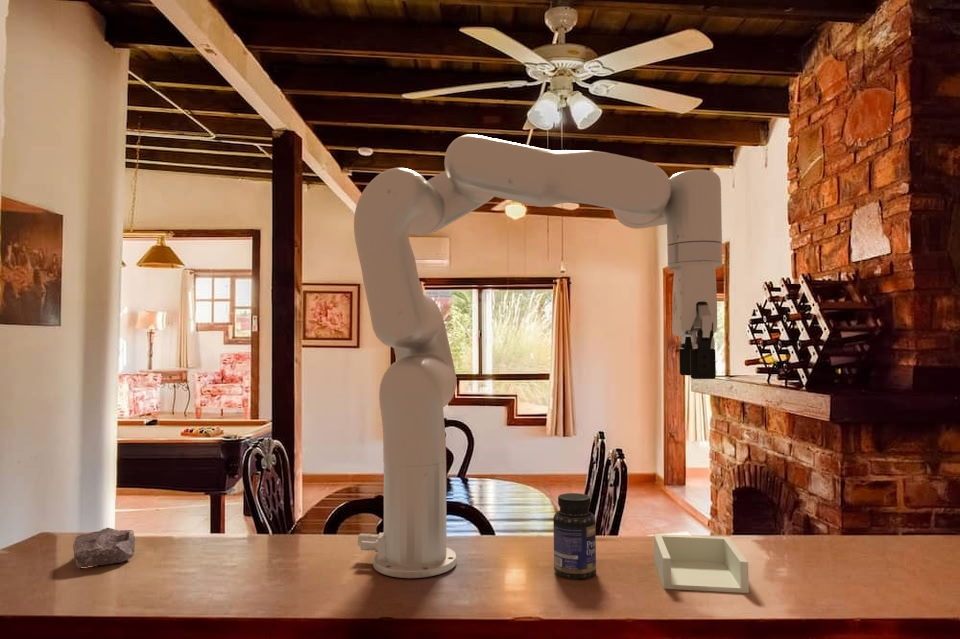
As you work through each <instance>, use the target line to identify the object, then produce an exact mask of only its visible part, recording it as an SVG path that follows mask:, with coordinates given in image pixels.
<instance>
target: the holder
mask: <svg viewBox="0 0 960 639" xmlns="http://www.w3.org/2000/svg"><path fill="white" fill-rule="evenodd" d="M653 545H654V548H653V549H654V550H653V552H654V557H653V558H654V564H655V567H656V569H657V573H658V575H659V579H660V581H661V585H662V588H663V589H664V590H681V591H682V590H683V591H685V590H686V591H700V592H718V593H719V592H721V593H722V592H723V593H737V594H738V593H739V594H749V593H750V591H749V590H750V588H749V587H750V586H749V584H750V582H749V578H750V577H749V561H748V560H747V558H746V557H745V556H744V555H743V553H742V552H741V551H740V549H739V548H738V546H737V545H736V544H735V543H734V542H733V540H732V539H731V537H729V536H707V535H706V536H705V535H687V534H686V535H683V534H656V533H654V535H653Z"/></svg>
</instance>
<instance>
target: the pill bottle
mask: <svg viewBox="0 0 960 639" xmlns="http://www.w3.org/2000/svg"><path fill="white" fill-rule="evenodd" d="M557 504H558V506H559V510H557V511H556V512H555V513H554V515H553V571H554V572H555V573H556V574H557V575H558V576H560V577H562V578H565V577H566V578H565V579H571V580H585V579H589V578H592V577H593V576H595V574H596V573H597V542H596V535H597V534H596V517H595V514H593V513H592V512H591V511H590V506H591V497H590V495H588V494H584V493H578V492H570V493H569V492H567V493H562V494H559V495H558V497H557Z"/></svg>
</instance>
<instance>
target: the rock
mask: <svg viewBox="0 0 960 639" xmlns="http://www.w3.org/2000/svg"><path fill="white" fill-rule="evenodd" d="M135 541H136V537H135V531H134V530H132V529H124V530H118V529H115V528H111V527H106V528H103V529H100V530H99V531H98V530H97V531H92V532H89V533H85V534H80V535H76V537H75V539H74V541H73V546H72V547H73V558H74V561H75V563H76V565H75V566H76V568H77V569H78V568H81V567H88V566H95V567H99V566H98V565H101V566H103V565H112V564H119V563H123V562H125V561H127V560H130V559H131V558H132V557H133V556H134V555H135V554H134V552H135V544H136V542H135Z"/></svg>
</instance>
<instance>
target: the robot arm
mask: <svg viewBox="0 0 960 639" xmlns="http://www.w3.org/2000/svg"><path fill="white" fill-rule="evenodd" d="M443 163H444V164H443V165H444V170H443V171H442V172H440V173H438V174H437V175H435V176H433V177H431V178H429V179H428V180H426V179H425V178H424V176H423V175H421V174H419V173H418V172H417V171H414V170H412V169H409V168H405V167H393V168H389V169H386V170H384V171H383V172H380V173H378V175H376V176H375V177H374V178H373V179H372V180H370V182H369V183H368V184H367V185H366V187H365V188H364V189H363V191H362V192H361V195H360V196H359V199H358V201H357V203H356V206H355V211H354V216H353V233H354V241H355V247H356V251H357V255H358V260H359V265H360V269H361V275H362V280H363V281H362V282H363V286H364V291H365V298H366V301H367V306H368V310H369V315H370V321H371V327H372V329H373V332H374V334H375V336H376V338H377V339H378V340H379V341H380V342H381V343H382V344H383V345H384V346H387V347H389V348H393V351H394V355H395V360H396V361H395V362H393V363H392V364H390V366H389V367H388V368H387V369H386V371H385V372H384V374H383V375H382V378H381V382H380V385H379V394H378V396H379V409H380V416H381V427H382V440H383V441H382V444H383V448H382V449H383V450H382V452H383V454H382V455H383V532H379V533H378V534H372V533H359V535H358V538H357V546H358V547H360V551H374V552H375V553H376V554H375V555H374V556H373V559H372V560H373V564H372V565H373V568H374V570H375V571H376V572H378V573H380V574H382V575H385V576H386V577H387V576H388V577H393V578H398V579H399V578H400V579H422V578H429V577H433V576H437V575H441V574H442V575H443V574H445V573H446V572H449V571H451V570H452V569H453V568H454V567H455V566H456V565H457V561H458V558H457V552H455V551H454V550H453V549H451V548H449V547H448V546H447V544H448V543H447V444H446V443H447V438H446V437H447V436H446V427H445V417H444V408H445V407H446V406H447V405H448V404H449V403H450V402H451V400H452V399H453V397H454V395H455V393H456V388H457V374H456V369H455V364H454V359H453V356H452V351H451V346H450V343H449V342H450V341H449V338H448V332H447V329H446V324H445V320H444V317H443V314H442V311H441V309H440V307H439V305H438V304H437V303H436V301H435V300H434V299H433V298H432V297H430V296H428V295H427V294H425V293H424V291H423V289H422V285H421V281H420V278H419V274H418V273H419V272H418V268H417V262H416V259H415V258H416V257H415V255H414V251H413V249H412V244H411V243H410V237H409V236H410V235H409V234H412V235H414V236H427V235H430V234H433V233H436V232H438V231H439V230H441V229H443V228H445V227H446V226H449V225H450V224H452V223H455V222H456V221H458V220H460V219H462V218H463V217H464V216H466V215H468V214H470V213H472V212H473V211H475V210H477V209H478V208H480V207H482V206H483V205H485V204H486V203H488V202H489V201H491V200H492V199H494V198H498V199H503V200H507V201H512V202H516V203H520V204H524V205H528V206H533V207H537V208H538V207H539V208H545V207H546V208H547V207H552V206H556V205H559V204H561V205H562V204H568V203H570V204H571V203H574V204H584V205H586V204H587V205H591V206H596V207H602V208H607V209H609V210H610V209H611V210H612V211H613V214H614V216H615V218H616V220H617V221H618V222H619V223H620V224H621V225H623V226H625V227H627V228H630V229H634V230H635V229H639V230H640V229H646V228H647V229H648V228H652V227H659V226H664V225H666V239H667V240H666V241H667V242H666V246H667V248H666V249H667V252H666V253H667V270H669V271H673V272H674V273H673V280H672V281H673V283H672V314H671V316H672V317H671V319H672V322H671V333H672V335H674V337H680V340H679V350H678V352H679V354H678V356H679V359H678V360H679V363H678V364H679V375H681V376H690V378H691V379H692V380H715V379H716V377H717V372H716V369H717V368H716V364H717V363H716V344H715V342H716V341H715V337H714V336H715V333H717V329H718V295H717V294H718V292H717V278H716V277H717V276H716V269H721V268H723V226H722V225H723V224H722V222H723V221H722V219H723V218H722V185H721V184H722V183H721V178H720V176H719V175H718V173H716V172H714V171H712V170H707V169H691V170H690V169H689V170H684V171H680V172H677V173H674V174H672V175H671V176H670V177H669V176H668V174H667V173H666V172H665V171H664V169H662V168H661V167H660V166H658V165H657V164H654V163H653V162H650V161H647V160H643V159H640V158H635V157H630V156H625V155H620V154H616V153H610V152H606V151H598V150H596V151H595V150H567V149H565V150H564V149H563V150H551V149H547V148H541V147H536V146H532V145H531V146H530V145H527V144H521V143H517V142H512V141H508V140H503V139H499V138H492V137H488V136H484V135H480V134H479V135H478V134H464V135H461V136H458V137H457V138H455V139H454V140H452V142H451V143H450V144H449V145H448V147H447V149H446V151H445V155H444V162H443Z"/></svg>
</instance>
